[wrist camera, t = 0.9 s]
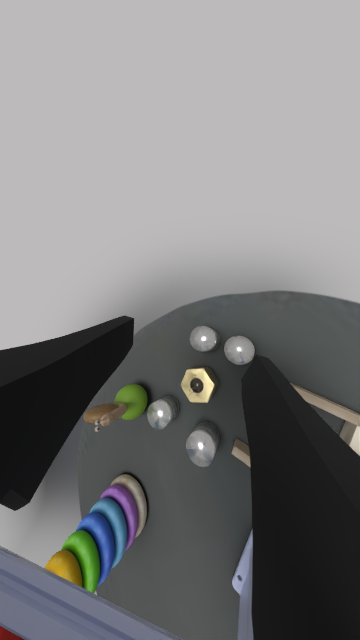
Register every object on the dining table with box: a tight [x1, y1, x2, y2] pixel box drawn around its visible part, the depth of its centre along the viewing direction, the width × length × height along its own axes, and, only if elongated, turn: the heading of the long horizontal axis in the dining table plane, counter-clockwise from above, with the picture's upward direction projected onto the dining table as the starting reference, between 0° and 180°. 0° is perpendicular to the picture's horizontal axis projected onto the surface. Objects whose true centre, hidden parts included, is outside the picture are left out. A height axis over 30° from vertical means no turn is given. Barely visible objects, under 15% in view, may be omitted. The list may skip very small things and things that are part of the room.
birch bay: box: [232, 383, 360, 467], centre depth 18 cm, size 11×10×2 cm
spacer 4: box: [224, 336, 255, 365], centre depth 21 cm, size 4×4×4 cm
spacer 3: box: [186, 421, 220, 467], centre depth 21 cm, size 4×4×4 cm
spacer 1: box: [147, 395, 180, 429], centre depth 24 cm, size 4×4×4 cm
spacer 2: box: [190, 326, 220, 351], centre depth 23 cm, size 4×4×4 cm
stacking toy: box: [0, 474, 147, 640], centre depth 18 cm, size 8×8×19 cm
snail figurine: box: [84, 384, 148, 432], centre depth 23 cm, size 5×6×12 cm
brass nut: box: [181, 367, 219, 403], centre depth 23 cm, size 5×4×3 cm
